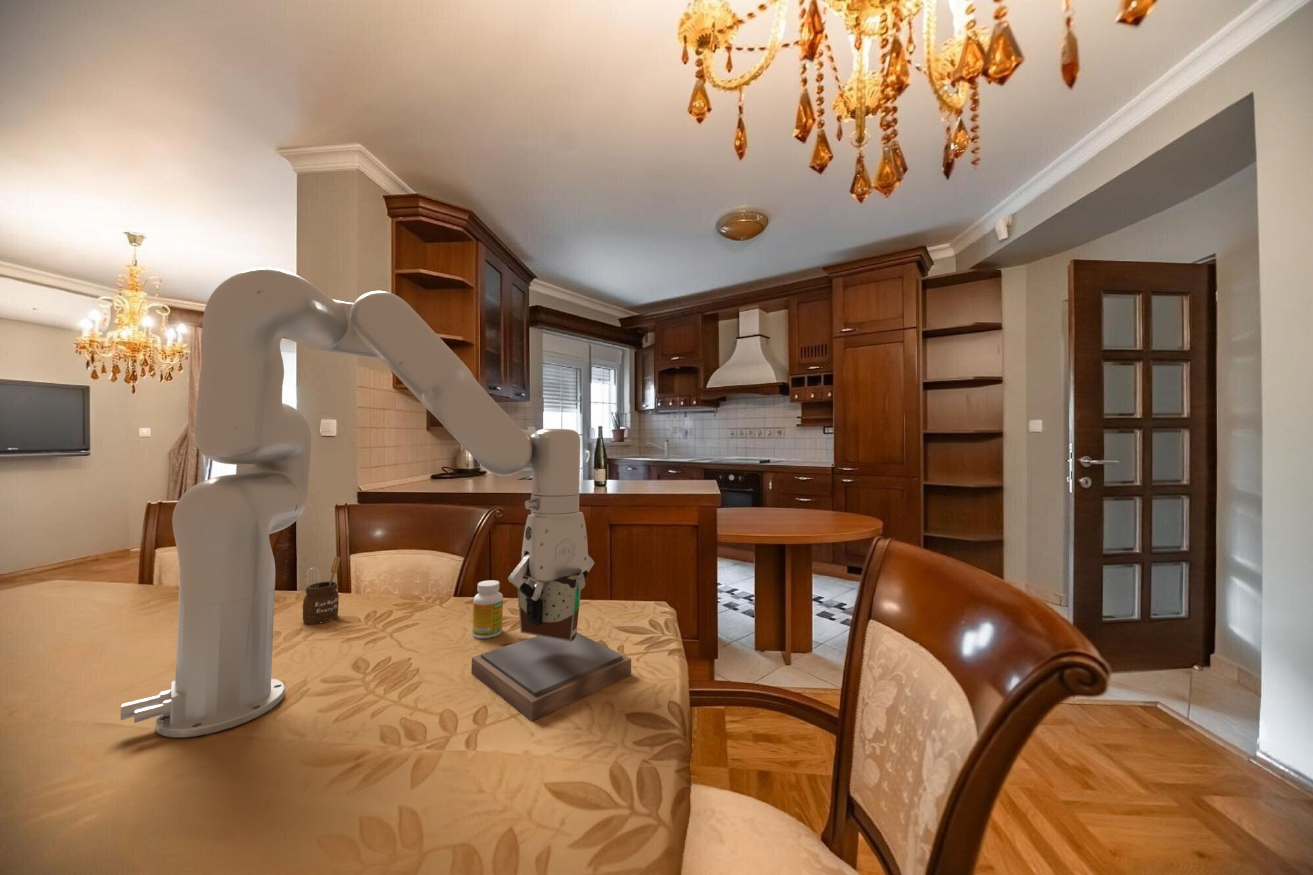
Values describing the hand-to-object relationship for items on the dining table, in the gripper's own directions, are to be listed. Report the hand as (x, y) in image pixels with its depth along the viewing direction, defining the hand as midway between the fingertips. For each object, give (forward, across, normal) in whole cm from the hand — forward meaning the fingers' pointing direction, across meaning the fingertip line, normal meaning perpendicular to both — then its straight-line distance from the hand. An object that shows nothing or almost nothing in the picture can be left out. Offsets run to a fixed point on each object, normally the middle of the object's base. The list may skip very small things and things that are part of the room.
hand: (553, 616), depth 73 cm
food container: (+3, +1, 0) cm, 3 cm away
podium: (+9, 0, 0) cm, 9 cm away
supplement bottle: (+9, 0, +22) cm, 24 cm away
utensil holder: (+9, -21, +52) cm, 57 cm away
